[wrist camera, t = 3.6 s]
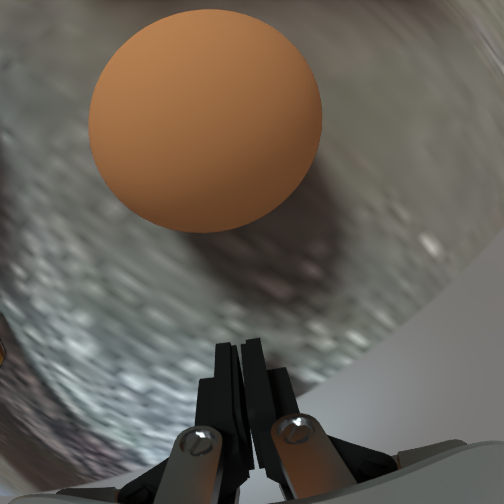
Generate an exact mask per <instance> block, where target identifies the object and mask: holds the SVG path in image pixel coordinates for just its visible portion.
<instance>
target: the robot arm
mask: <svg viewBox="0 0 504 504" xmlns="http://www.w3.org/2000/svg"><path fill="white" fill-rule="evenodd" d="M241 354H242V365H243V376H244V382H243V377H242V372H241V367H240V361H239V356H238V351H237V346H236V345H233V346H231V343H230V342H227V343H219V344H216V348H215V368H214V377H213V378H204V379H200V380H199V387H198V396H197V406H196V416H195V426H194V427H190V428H188V429H186V430H184V431H182V432H181V433H180V434H179V435H178V436H177V438H176V440H175V442H174V445H173V448H172V451H171V454H170V457H169V458H167V459H166V460H164V461H163V462H161V463H160V464H158V465H157V466H155V467H153V468H152V469H150V470H149V471H147V472H146V473H144V474H143V475H141V476H139V477H138V478H136V479H134V480H133V481H131V482H129V483H128V484H126V485H125V486H124V487H123V488H122V489H118V490H117V489H116V488H115V487H108V488H107V487H106V488H67V489H62V490H60V491H58V492H57V493H56V494H29V495H24V496H20V497H17V498H15V499H13V500H12V501H11V502H10V503H9V504H239V496H240V485H242V484H243V483H244V482H245V481H246V480H247V478H250V476H249V470H253V469H255V467H254V458H253V450H252V440H251V434H252V438H253V443H254V447H255V451H256V455H257V460H258V464H259V468H260V469H261V468H265V470H266V475H267V477H268V478H270V479H272V480H274V481H275V482H278V483H279V487H280V490H281V492H282V494H283V497H284V499H285V501H283V502H276V503H269V504H504V442H503V441H484V442H478V443H472V444H467V443H465V442H463V441H462V440H457V439H454V440H448V441H444V442H440V443H436V444H433V445H429V446H424V447H420V448H415V449H411V450H406V451H400V452H398V454H397V455H394V456H389V455H387V454H385V453H382V452H378V451H375V450H372V449H368V448H365V447H362V446H359V445H356V444H352V443H349V442H346V441H343V440H340V439H337V438H335V437H332V436H329V435H326V433H325V431H324V430H323V428H322V427H321V425H320V423H319V422H318V421H317V420H316V419H315V418H314V417H312V416H310V415H307V414H303V413H300V412H299V409H298V405H297V402H296V399H295V395H294V392H293V389H292V385H291V382H290V379H289V376H288V372H287V369H286V367H283V368H278V369H272V370H266V365H265V360H264V355H263V350H262V346H261V341H260V338H255V339H248V340H246V344H241ZM244 386H245V387H244ZM250 429H251V431H250Z"/></svg>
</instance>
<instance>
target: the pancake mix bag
mask: <svg viewBox="0 0 504 504" xmlns="http://www.w3.org/2000/svg"><path fill="white" fill-rule="evenodd" d="M5 355H6V352H5V350H4V348H3V346H2V344H1V342H0V366H1V364H2V362H3V359H4V357H5Z"/></svg>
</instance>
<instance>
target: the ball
mask: <svg viewBox="0 0 504 504" xmlns="http://www.w3.org/2000/svg"><path fill="white" fill-rule="evenodd" d="M321 130H322V107H321V99H320V94H319V90H318V86H317V83H316V80H315V78H314V75H313V73H312V71H311V69H310V67H309V65H308V64H307V62H306V60H305V59H304V57H303V56H302V55H301V53H300V52H299V51H298V49H297V48H296V47H295V46H294V45H293V44H292V43H291V42H290V41H289V40H288V39H287V38H286V37H285V36H283V35H282V34H281V33H280V32H278V31H277V30H276V29H274V28H273V27H271V26H269V25H268V24H266V23H264V22H262V21H260V20H258V19H255V18H253V17H250V16H248V15H245V14H241V13H237V12H233V11H226V10H216V9H203V10H193V11H187V12H182V13H178V14H174V15H171V16H169V17H166V18H163V19H161V20H158V21H156V22H154V23H152V24H150V25H148V26H147V27H145V28H144V29H142V30H141V31H139V32H137V33H136V34H135V35H134V36H132V37H131V38H130V39H129V40H128V41H126V42H125V43H124V44H123V45H122V46H121V47H120V48H119V49H118V50H117V52H116V53H115V54H114V55H113V57H112V58H111V59H110V61H109V62H108V63H107V65H106V66H105V68H104V70H103V72H102V73H101V75H100V77H99V79H98V82H97V84H96V87H95V89H94V93H93V96H92V100H91V104H90V112H89V139H90V146H91V151H92V154H93V157H94V161H95V163H96V166H97V168H98V170H99V172H100V174H101V176H102V178H103V179H104V181H105V182H106V184H107V186H108V187H109V188H110V190H111V191H112V192H113V193H114V194H115V195H116V197H117V198H118V199H119V200H120V201H121V202H122V203H123V204H124V205H126V206H127V207H128V208H129V209H130V210H131V211H133V212H134V213H136V214H137V215H139V216H140V217H142V218H144V219H146V220H148V221H150V222H152V223H154V224H156V225H159V226H162V227H165V228H168V229H172V230H177V231H183V232H192V233H211V232H221V231H225V230H230V229H235V228H238V227H240V226H243V225H246V224H249V223H251V222H253V221H255V220H257V219H259V218H261V217H263V216H265V215H266V214H268V213H269V212H271V211H272V210H274V209H275V208H276V207H278V206H279V205H280V204H281V203H282V202H283V201H285V200H286V199H287V198H288V197H289V196H290V195H291V193H292V192H293V191H294V190H295V189H296V188H297V187H298V185H299V184H300V183H301V181H302V180H303V178H304V177H305V175H306V174H307V172H308V170H309V168H310V166H311V164H312V162H313V160H314V157H315V155H316V152H317V149H318V146H319V141H320V136H321Z"/></svg>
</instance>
